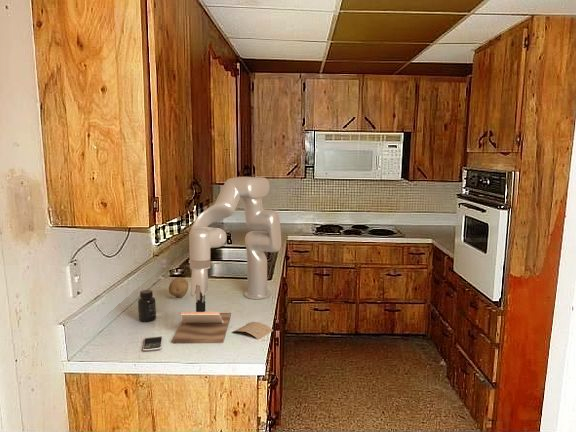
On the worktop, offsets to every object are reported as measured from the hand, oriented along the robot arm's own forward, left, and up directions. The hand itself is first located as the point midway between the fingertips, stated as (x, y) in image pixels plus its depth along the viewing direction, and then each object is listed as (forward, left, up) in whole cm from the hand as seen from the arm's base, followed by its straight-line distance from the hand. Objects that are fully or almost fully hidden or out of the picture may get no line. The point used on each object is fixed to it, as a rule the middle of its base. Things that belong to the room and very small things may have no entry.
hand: (200, 311), depth 161 cm
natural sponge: (-42, -18, -10) cm, 47 cm away
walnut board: (-6, 0, -9) cm, 11 cm away
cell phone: (+8, -16, -10) cm, 20 cm away
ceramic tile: (-4, 0, -3) cm, 5 cm away
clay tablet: (-3, +19, -10) cm, 22 cm away
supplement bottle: (-16, -25, -10) cm, 31 cm away
